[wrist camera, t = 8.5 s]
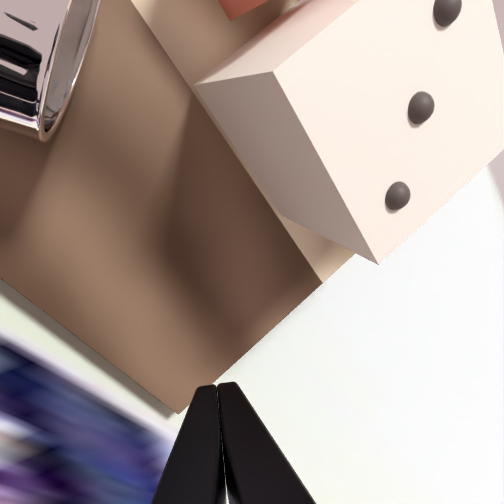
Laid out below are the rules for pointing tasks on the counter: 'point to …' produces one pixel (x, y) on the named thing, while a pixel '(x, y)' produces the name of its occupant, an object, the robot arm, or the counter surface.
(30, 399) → the counter surface
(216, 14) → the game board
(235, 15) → the terracotta die
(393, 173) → the ivory die
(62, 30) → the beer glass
